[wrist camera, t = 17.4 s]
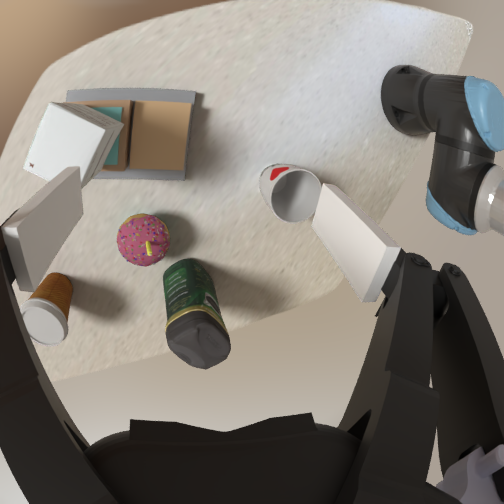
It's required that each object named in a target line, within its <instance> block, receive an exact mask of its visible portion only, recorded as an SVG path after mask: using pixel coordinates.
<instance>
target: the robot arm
mask: <svg viewBox="0 0 504 504" xmlns="http://www.w3.org/2000/svg"><path fill="white" fill-rule="evenodd" d="M381 101H382V106H383V110H384V113H385V115H386V117H387V119H388V121H389V122H390V124H391V125H392V126H393V127H394V128H395V129H397V130H398V131H400V132H402V133H406V134H410V135H420V134H425V133H430V132H436V136H435V144H434V153H433V159H432V166H431V172H430V178H429V181H428V183H427V196H426V205H427V209H428V210H429V212H430V213H431V214H432V216H433V217H434V218H435V219H437V220H438V221H439V222H440V223H442V224H444V225H445V226H447V227H448V228H450V229H455V230H456V231H457V232H459V233H462V234H465V235H474V234H476V233H477V232H480V233H485V232H487V231H489V230H492V229H493V230H495V231H496V232H498V233H500V234H501V235H503V236H504V170H503V168H501V167H500V166H498V165H496V164H493V163H494V157H495V152H498V151H502V150H503V149H504V98H503V96H502V94H501V92H500V91H499V89H498V88H497V87H496V86H495V85H494V84H493V83H492V82H490V81H488V80H484V79H479V78H476V77H474V76H457V75H444V74H432V73H430V72H427V71H425V70H423V69H420V68H418V67H416V66H412V65H398V66H395V67H393V68H392V69H390V70H389V71H388V73H387V74H386V76H385V78H384V80H383V83H382V88H381ZM82 215H83V204H82V192H81V176H80V166H72V167H67V168H65V169H64V170H63V171H62V172H60V173H59V174H58V175H57V176H56V177H54V178H53V179H52V180H51V181H50V182H48V183H47V184H46V185H45V186H44V187H43V188H41V189H40V190H39V191H38V192H37V193H36V194H35V195H34V196H33V197H31V198H30V199H29V200H28V201H27V202H26V203H25V204H24V205H23V206H22V207H21V208H19V209H18V210H16V211H15V212H14V213H13V214H12V215H11V216H10V218H8V219H7V220H6V221H5V222H4V223H3V224H2V225H1V226H0V448H1V450H2V452H3V455H4V457H5V459H6V461H7V463H8V465H9V467H10V470H11V471H12V474H13V476H14V477H15V479H16V481H17V483H18V485H19V486H20V489H21V490H22V492H23V494H24V496H25V497H26V499H27V501H28V502H29V504H504V359H503V356H502V354H501V351H500V349H499V346H498V343H497V341H496V338H495V336H494V333H493V331H492V329H491V327H490V324H489V322H488V320H487V317H486V315H485V313H484V311H483V309H482V307H481V305H480V303H479V300H478V298H477V297H476V294H475V293H474V291H473V289H472V287H471V285H470V283H469V281H468V279H467V277H466V276H465V274H464V273H463V272H462V271H461V270H460V268H459V267H457V266H456V265H452V264H450V263H444V264H443V266H442V268H441V270H440V272H439V271H436V270H432V267H431V264H430V263H429V262H428V261H427V260H426V259H425V258H424V257H422V256H420V255H417V254H415V253H406V252H405V251H404V250H403V249H402V248H401V247H400V246H399V245H398V244H397V243H396V242H395V241H394V240H393V239H392V238H391V237H390V236H389V235H388V234H387V233H386V232H385V231H384V230H383V229H382V228H381V227H380V226H379V225H378V224H377V223H376V222H375V221H374V220H373V219H372V218H371V217H370V216H369V215H367V214H366V213H365V212H364V211H363V210H362V209H361V208H360V207H359V206H358V205H357V204H356V203H355V202H354V201H352V200H351V199H350V198H349V197H348V196H347V195H346V194H345V193H344V192H342V191H341V190H340V189H339V188H338V187H337V186H336V185H332V184H325V183H323V186H322V190H321V193H320V197H319V201H318V204H317V208H316V212H315V215H314V219H313V222H312V226H311V227H312V228H313V230H314V231H315V233H316V234H317V235H318V237H319V238H320V240H321V241H322V243H323V244H324V246H325V247H326V249H327V250H328V252H329V253H330V254H331V256H332V257H333V259H334V260H335V262H336V263H337V265H338V266H339V268H340V269H341V271H342V272H343V274H344V276H345V277H346V278H347V280H348V282H349V283H350V285H351V286H352V288H353V289H354V291H355V292H356V294H357V296H358V297H359V299H360V300H361V302H375V301H376V300H377V298H378V296H379V294H380V292H381V290H382V291H383V293H384V294H385V298H384V300H383V302H382V304H381V306H380V308H379V309H378V311H377V313H376V315H375V316H376V317H377V316H378V319H377V323H376V326H375V329H374V333H373V336H372V339H371V342H370V346H369V349H368V352H367V355H366V358H365V361H364V364H363V366H362V369H361V372H360V375H359V378H358V380H357V383H356V386H355V388H354V391H353V394H352V396H351V399H350V401H349V404H348V406H347V409H346V411H345V413H344V416H343V418H342V420H341V422H340V424H339V426H338V427H337V428H335V427H332V426H328V425H323V424H318V423H315V422H314V419H313V416H312V413H305V414H298V415H291V416H283V417H274V418H269V419H266V420H263V421H260V422H257V423H254V424H251V425H248V426H246V427H242V428H239V429H236V430H232V431H228V432H220V431H215V430H210V429H204V428H200V427H195V426H191V425H187V424H183V423H178V422H165V421H147V420H146V421H145V420H133V419H131V420H130V430H129V431H123V432H119V433H115V434H112V435H110V436H107V437H104V438H103V439H101V440H99V441H97V442H95V443H94V444H92V445H91V446H90V445H89V443H88V442H87V441H86V439H85V438H84V437H83V435H82V434H81V433H80V431H79V430H78V428H77V427H76V425H75V424H74V422H73V421H72V419H71V418H70V416H69V414H68V412H67V411H66V409H65V407H64V406H63V404H62V402H61V400H60V399H59V397H58V395H57V393H56V391H55V389H54V387H53V386H52V384H51V382H50V380H49V378H48V376H47V374H46V372H45V370H44V368H43V365H42V363H41V361H40V359H39V357H38V355H37V352H36V350H35V348H34V345H33V343H32V341H31V338H30V336H29V333H28V331H27V328H26V325H25V323H24V320H23V317H22V314H21V312H20V309H19V306H18V303H17V300H16V296H15V293H14V290H13V288H12V283H13V282H14V280H15V278H16V281H17V284H18V286H19V289H20V291H28V292H35V291H36V289H37V287H38V285H39V283H40V282H41V280H42V278H43V276H44V275H45V273H46V271H47V269H48V268H49V266H50V264H51V263H52V261H53V259H54V258H55V256H56V255H57V253H58V251H59V250H60V248H61V247H62V245H63V243H64V242H65V240H66V239H67V237H68V236H69V234H70V233H71V231H72V230H73V228H74V227H75V225H76V224H77V222H78V221H79V220H80V218H81V217H82ZM446 311H447V312H446ZM430 374H431V379H432V386H433V388H430V387H429V384H430ZM436 427H437V434H438V449H439V458H440V465H441V471H442V475H443V481H441V482H439V483H438V484H437V485H436V487H434V486H433V485H431V484H429V483H427V482H426V478H427V474H428V470H429V466H430V461H431V456H432V451H433V445H434V440H435V433H436Z"/></svg>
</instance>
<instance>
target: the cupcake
mask: <svg viewBox="0 0 504 504" xmlns="http://www.w3.org/2000/svg"><path fill="white" fill-rule="evenodd" d="M117 243H118V248H119V251H120V253H121V255H123V257H124V258H125V259H126V260H128V261H129V262H131V263H133V264H134V265H139V266H149V265H150V266H151V265H152V264H155V263H157V262H158V261H160V260H162V259H163V258H164V256H165V254H166V252H167V250H168V248H169V245H170V235H169V231H168V229H167V226H166V225H165V223H163V222H162V221H161V220H160V219H158V218H157V217H156V216H152V215H148V214H137V215H133V216H130V217H129V218H128V219H127V220H126V221H125V222H124V223H123V224H122V225H121V226H120V228H119V231H118V234H117Z"/></svg>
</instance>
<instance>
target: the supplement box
mask: <svg viewBox="0 0 504 504" xmlns="http://www.w3.org/2000/svg"><path fill="white" fill-rule="evenodd" d="M123 126H124V124H123V123H121V122H119V121H117V120H115V119H113V118H111V117H109V116H107V115H105V114H103V113H101V112H98V111H96V110H94V109H92V108H90V107H88V106H86V105H83V104H75V103H55V102H50V103H49V104H48V106H47V108H46V110H45V113H44V115H43V117H42V119H41V122H40V124H39V126H38V129H37V131H36V134H35V136H34V138H33V141H32V144H31V147H30V149H29V152H28V155H27V158H26V161H25V164H24V166H23V169H24V170H26V171H28V172H30V173H33V174H35V175H37V176H39V177H41V178H43V179H45V180H47V181H49V182H50V181H51V180H52V179H53V178H54V177H56V176H57V175H58V174H59V173H60V172H62V171H63V170H64V169H65V168H67V167H72V166H80V176H81V189H82V188H83V187H84V186H85V185H86V184H87V183H88V182H89V181H90V180H91V179H92V178H94V177H95V176H96V175H97V174H98V173H99V172H100V171H101V170H102V167H103V165H104V162H105V160H106V158H107V156H108V154H109V152H110V150H111V148H112V146H113V144H114V142H115V140H116V138H117V136H118V135H119V133H120V131H121V129H122V128H123Z"/></svg>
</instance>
